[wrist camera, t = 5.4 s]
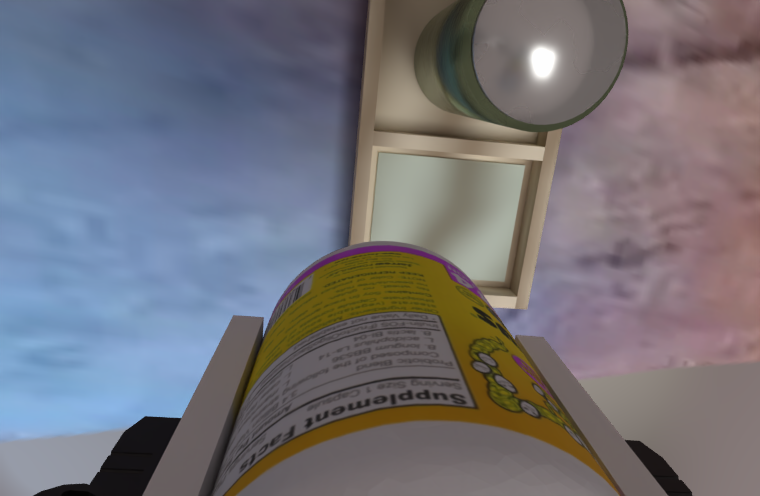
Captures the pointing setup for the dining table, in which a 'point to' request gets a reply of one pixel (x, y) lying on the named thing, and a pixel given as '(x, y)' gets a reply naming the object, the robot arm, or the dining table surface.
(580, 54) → the can
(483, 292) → the caddy
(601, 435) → the robot arm
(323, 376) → the supplement bottle
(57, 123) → the dining table surface
